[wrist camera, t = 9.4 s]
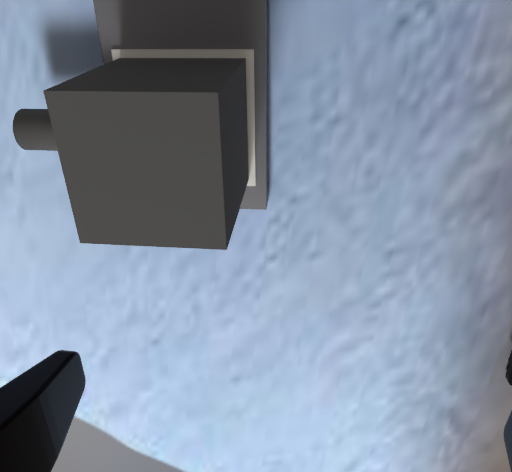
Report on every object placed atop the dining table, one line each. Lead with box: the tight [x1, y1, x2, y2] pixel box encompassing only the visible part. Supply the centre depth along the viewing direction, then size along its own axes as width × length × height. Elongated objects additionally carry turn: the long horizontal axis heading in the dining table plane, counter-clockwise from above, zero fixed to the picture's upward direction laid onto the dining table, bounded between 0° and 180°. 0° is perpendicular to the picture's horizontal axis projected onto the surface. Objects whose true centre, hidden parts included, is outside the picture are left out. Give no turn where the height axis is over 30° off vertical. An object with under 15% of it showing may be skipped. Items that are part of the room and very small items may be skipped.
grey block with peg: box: [13, 58, 249, 250], centre depth 17 cm, size 9×5×6 cm, turn 91°
